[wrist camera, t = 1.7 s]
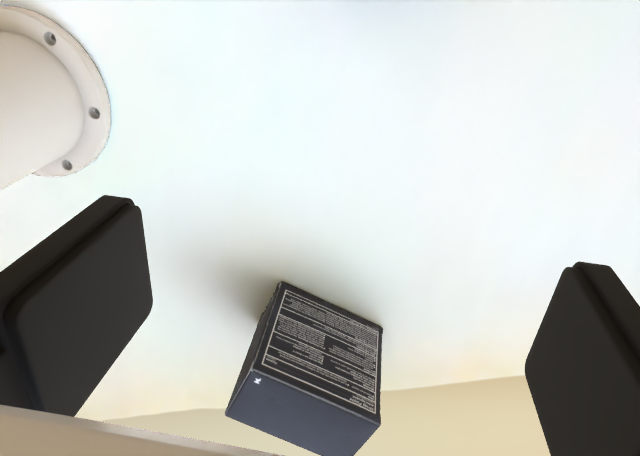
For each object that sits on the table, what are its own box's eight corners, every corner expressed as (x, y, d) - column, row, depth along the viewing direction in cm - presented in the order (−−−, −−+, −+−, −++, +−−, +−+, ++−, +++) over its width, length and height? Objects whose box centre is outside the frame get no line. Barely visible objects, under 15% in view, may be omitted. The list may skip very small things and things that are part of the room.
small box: (254, 326, 44) (218, 418, 35) (280, 278, 41) (248, 365, 31) (352, 370, 45) (343, 471, 36) (385, 326, 42) (384, 425, 33)
